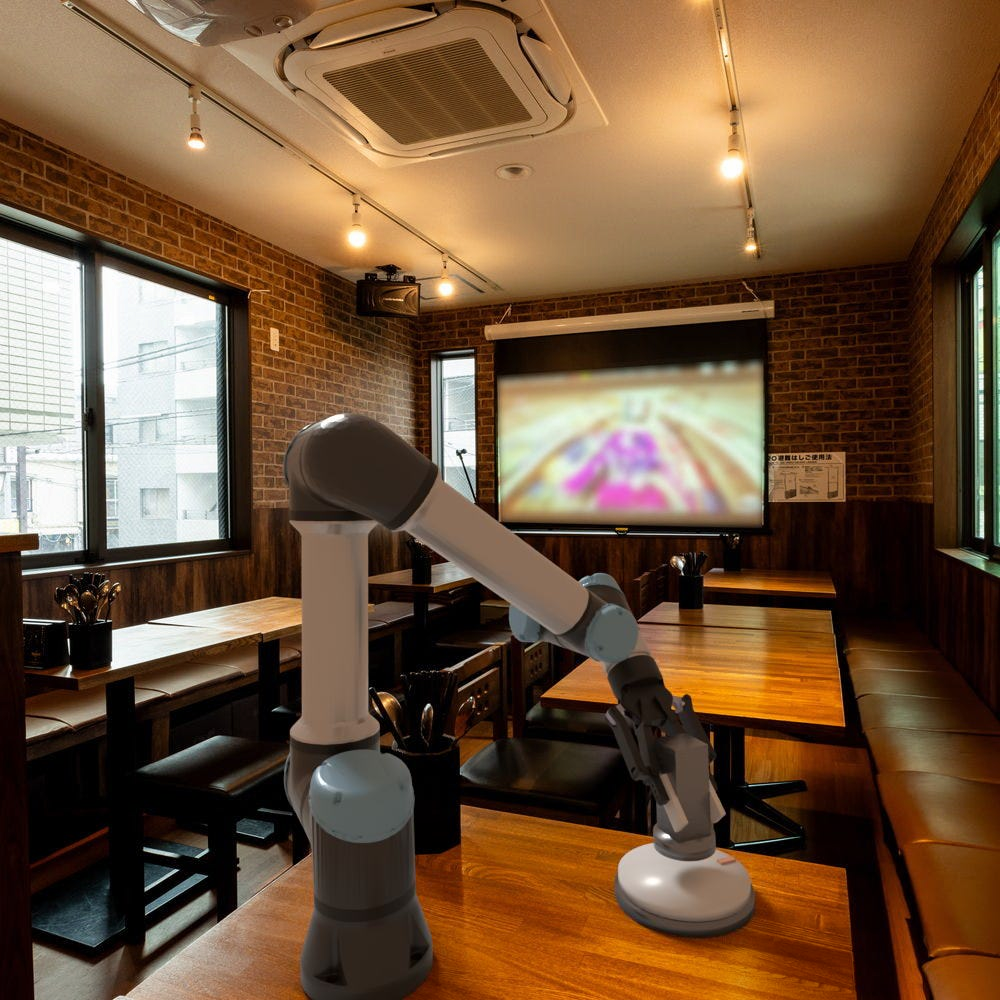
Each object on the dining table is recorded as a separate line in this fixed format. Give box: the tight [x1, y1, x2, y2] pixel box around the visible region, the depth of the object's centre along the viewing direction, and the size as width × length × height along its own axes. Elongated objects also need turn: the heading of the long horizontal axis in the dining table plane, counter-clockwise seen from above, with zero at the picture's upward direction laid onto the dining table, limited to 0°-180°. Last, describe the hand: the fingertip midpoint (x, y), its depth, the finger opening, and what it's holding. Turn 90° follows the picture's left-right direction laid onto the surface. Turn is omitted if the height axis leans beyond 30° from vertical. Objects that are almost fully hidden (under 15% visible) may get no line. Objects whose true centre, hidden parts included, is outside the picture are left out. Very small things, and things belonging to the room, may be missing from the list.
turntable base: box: [614, 871, 756, 939], centre depth 99 cm, size 18×18×2 cm
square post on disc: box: [652, 733, 717, 861], centre depth 99 cm, size 8×8×14 cm
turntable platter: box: [617, 842, 751, 922], centre depth 99 cm, size 17×17×2 cm
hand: (700, 822), depth 95 cm, fingers closed on square post on disc, 5 cm apart
